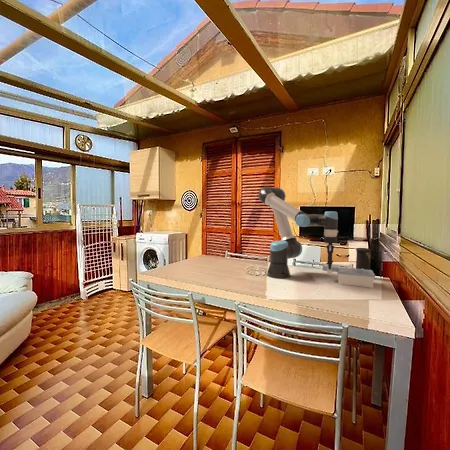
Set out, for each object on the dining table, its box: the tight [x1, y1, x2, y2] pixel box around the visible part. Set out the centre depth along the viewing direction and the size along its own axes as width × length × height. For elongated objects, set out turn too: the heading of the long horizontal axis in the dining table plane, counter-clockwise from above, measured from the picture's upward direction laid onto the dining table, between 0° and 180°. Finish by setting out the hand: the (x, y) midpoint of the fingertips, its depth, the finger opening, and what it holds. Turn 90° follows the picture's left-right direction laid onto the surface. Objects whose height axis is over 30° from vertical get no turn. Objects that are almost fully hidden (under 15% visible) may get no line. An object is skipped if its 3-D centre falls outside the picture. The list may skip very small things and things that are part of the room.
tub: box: [337, 273, 375, 289], centre depth 149 cm, size 18×12×7 cm, turn 66°
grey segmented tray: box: [322, 265, 376, 278], centre depth 151 cm, size 28×13×2 cm, turn 66°
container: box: [355, 247, 372, 270], centre depth 164 cm, size 9×9×20 cm
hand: (329, 273), depth 155 cm, fingers closed on grey segmented tray, 4 cm apart
